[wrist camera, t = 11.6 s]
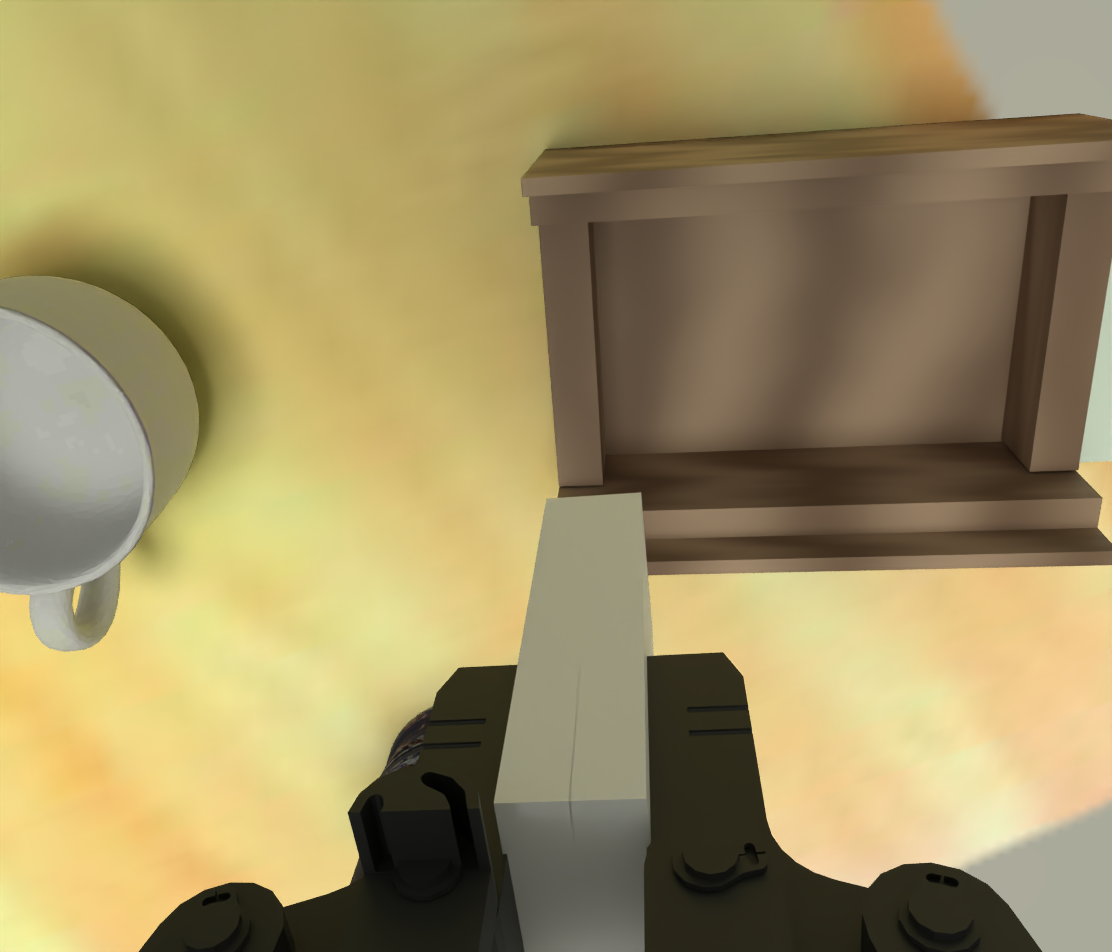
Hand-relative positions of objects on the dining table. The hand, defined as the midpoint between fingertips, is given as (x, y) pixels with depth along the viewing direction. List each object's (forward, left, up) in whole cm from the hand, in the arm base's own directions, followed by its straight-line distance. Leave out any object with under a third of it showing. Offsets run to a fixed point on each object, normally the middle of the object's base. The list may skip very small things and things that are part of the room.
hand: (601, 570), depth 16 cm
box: (+2, +6, -22) cm, 23 cm away
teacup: (+5, -22, -23) cm, 32 cm away
